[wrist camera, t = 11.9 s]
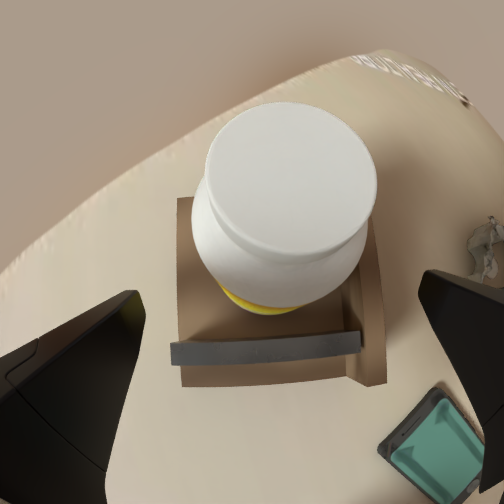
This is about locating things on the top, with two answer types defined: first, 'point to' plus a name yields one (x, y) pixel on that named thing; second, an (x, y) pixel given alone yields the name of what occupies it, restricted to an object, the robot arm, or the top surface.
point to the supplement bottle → (283, 206)
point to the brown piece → (279, 321)
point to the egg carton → (485, 250)
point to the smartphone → (436, 450)
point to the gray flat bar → (265, 348)
